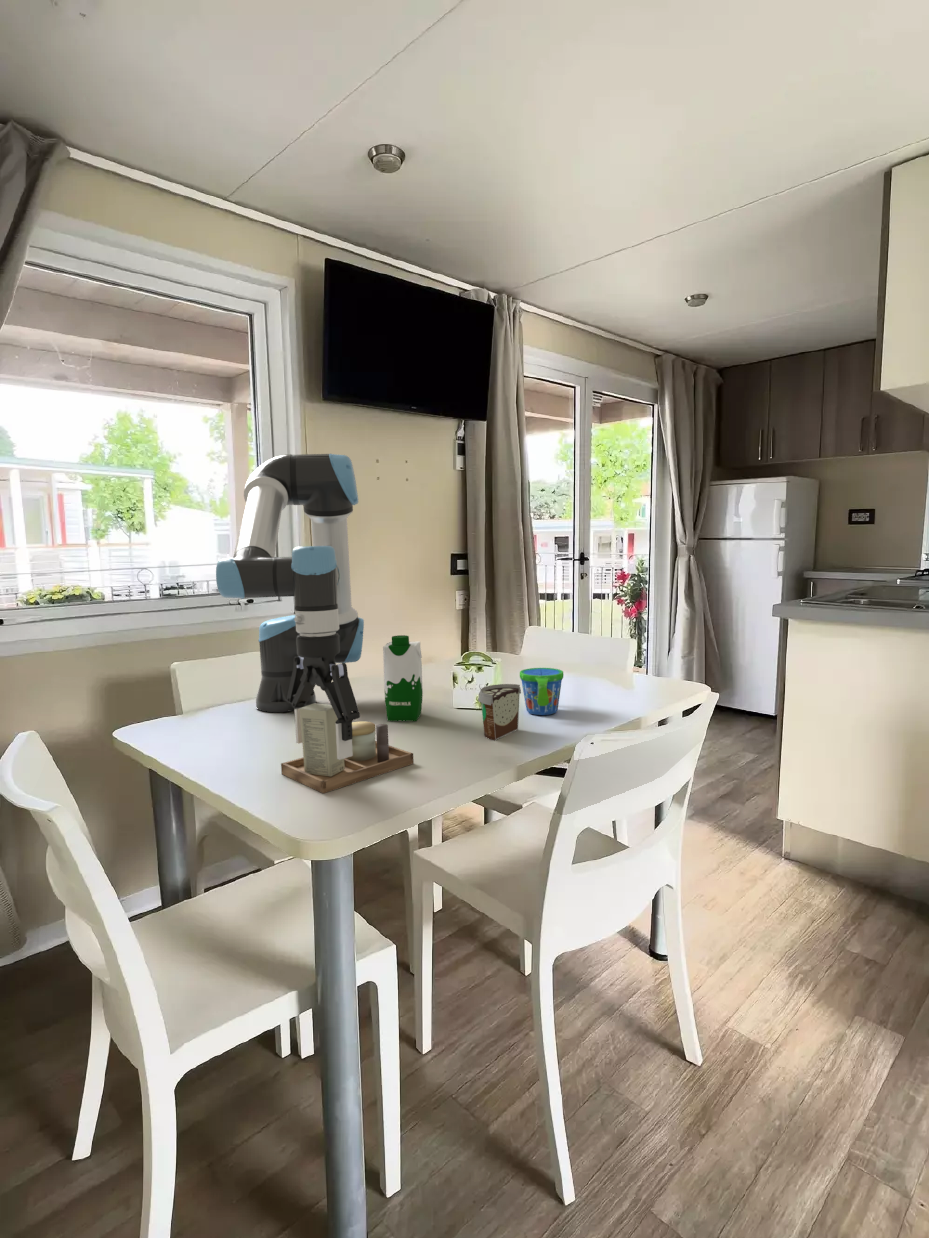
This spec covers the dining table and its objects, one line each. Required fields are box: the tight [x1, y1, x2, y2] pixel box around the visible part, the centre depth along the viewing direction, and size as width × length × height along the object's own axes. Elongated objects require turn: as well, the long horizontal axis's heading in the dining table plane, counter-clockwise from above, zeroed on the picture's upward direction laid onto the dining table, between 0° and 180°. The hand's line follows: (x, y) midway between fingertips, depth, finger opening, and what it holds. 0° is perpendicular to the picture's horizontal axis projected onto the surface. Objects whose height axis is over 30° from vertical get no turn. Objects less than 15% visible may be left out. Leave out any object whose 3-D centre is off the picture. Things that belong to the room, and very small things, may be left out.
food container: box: [477, 683, 522, 741], centre depth 144 cm, size 12×6×10 cm, turn 145°
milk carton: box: [382, 634, 424, 722], centre depth 157 cm, size 9×9×20 cm
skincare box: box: [300, 702, 345, 777], centre depth 119 cm, size 6×4×12 cm
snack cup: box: [519, 667, 564, 716], centre depth 160 cm, size 16×10×10 cm
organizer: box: [280, 721, 414, 794], centre depth 123 cm, size 14×20×8 cm
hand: (323, 749), depth 119 cm, fingers open, 13 cm apart
